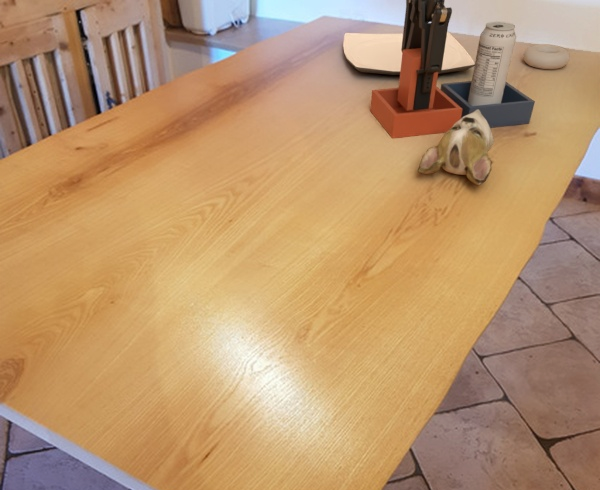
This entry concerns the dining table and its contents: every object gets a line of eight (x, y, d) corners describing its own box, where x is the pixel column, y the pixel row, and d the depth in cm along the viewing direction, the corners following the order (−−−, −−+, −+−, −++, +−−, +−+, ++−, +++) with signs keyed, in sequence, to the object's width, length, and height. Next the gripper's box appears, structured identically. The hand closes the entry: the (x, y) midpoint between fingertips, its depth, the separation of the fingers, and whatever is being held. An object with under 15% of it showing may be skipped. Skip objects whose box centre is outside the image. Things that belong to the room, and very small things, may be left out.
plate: (350, 82, 118) (350, 69, 117) (338, 42, 140) (338, 31, 138) (481, 79, 119) (483, 66, 117) (449, 40, 140) (451, 29, 139)
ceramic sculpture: (514, 104, 85) (492, 148, 75) (503, 155, 91) (480, 201, 81) (447, 94, 89) (417, 135, 79) (440, 143, 95) (412, 186, 85)
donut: (512, 63, 127) (550, 74, 121) (515, 47, 125) (554, 57, 118) (539, 55, 131) (576, 65, 125) (542, 39, 129) (581, 49, 123)
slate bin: (529, 123, 101) (535, 101, 98) (465, 130, 99) (470, 108, 96) (496, 98, 110) (501, 78, 108) (437, 104, 108) (441, 83, 106)
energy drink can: (505, 112, 103) (526, 26, 94) (482, 119, 101) (500, 32, 91) (482, 102, 107) (500, 18, 98) (459, 108, 105) (474, 23, 95)
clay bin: (458, 131, 99) (462, 108, 96) (392, 138, 97) (394, 115, 94) (431, 105, 108) (434, 84, 105) (370, 111, 106) (371, 89, 104)
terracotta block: (432, 108, 99) (440, 56, 93) (406, 110, 98) (413, 58, 92) (422, 98, 103) (429, 47, 97) (397, 100, 102) (402, 49, 96)
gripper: (391, -54, 91) (379, 87, 106) (434, -34, 78) (413, 124, 93) (433, -56, 92) (415, 84, 108) (483, -37, 79) (454, 120, 94)
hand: (414, 102), depth 100 cm, fingers closed on terracotta block, 5 cm apart
